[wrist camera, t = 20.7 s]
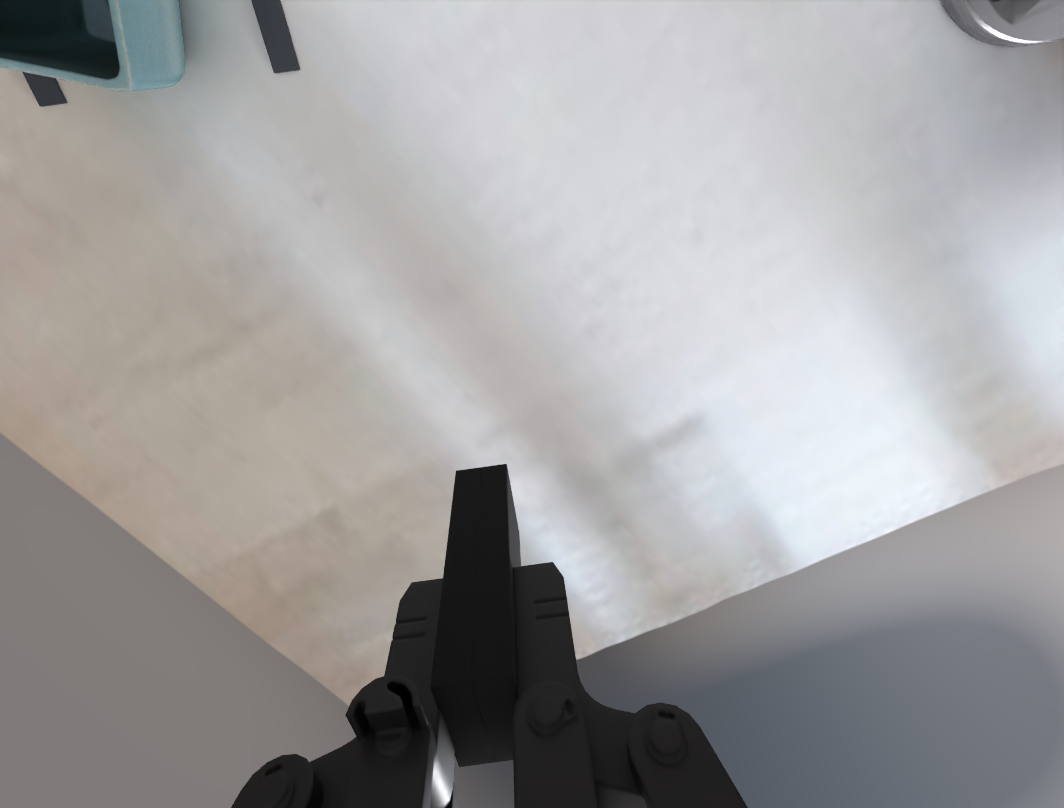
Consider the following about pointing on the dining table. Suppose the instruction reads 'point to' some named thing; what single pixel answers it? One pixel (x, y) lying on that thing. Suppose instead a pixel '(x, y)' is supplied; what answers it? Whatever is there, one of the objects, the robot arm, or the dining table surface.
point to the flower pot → (95, 41)
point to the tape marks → (271, 29)
